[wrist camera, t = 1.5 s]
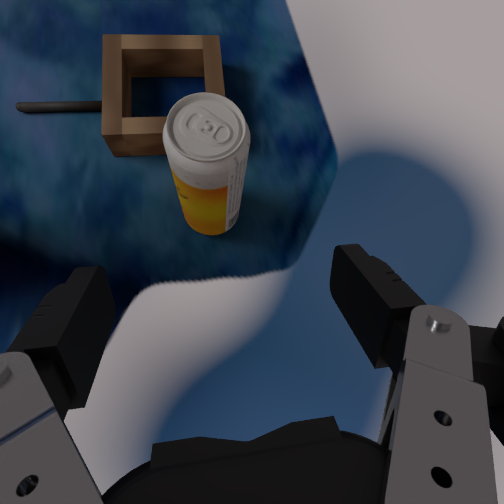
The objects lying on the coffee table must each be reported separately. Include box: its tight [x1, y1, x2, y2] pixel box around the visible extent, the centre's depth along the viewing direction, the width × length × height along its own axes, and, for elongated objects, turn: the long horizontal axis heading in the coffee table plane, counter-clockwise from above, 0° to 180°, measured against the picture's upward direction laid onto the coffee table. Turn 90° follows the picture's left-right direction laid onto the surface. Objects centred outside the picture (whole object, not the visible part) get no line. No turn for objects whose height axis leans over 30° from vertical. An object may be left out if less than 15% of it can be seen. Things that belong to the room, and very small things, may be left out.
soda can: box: [163, 92, 250, 235], centre depth 28 cm, size 6×6×15 cm
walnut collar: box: [16, 34, 225, 157], centre depth 36 cm, size 24×13×4 cm, turn 96°
